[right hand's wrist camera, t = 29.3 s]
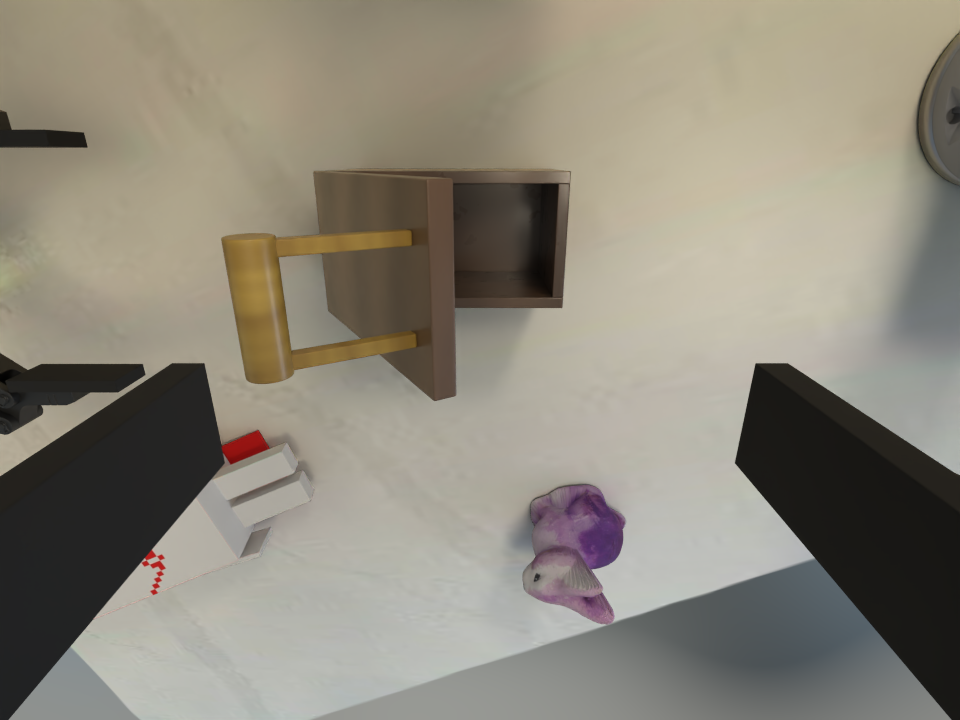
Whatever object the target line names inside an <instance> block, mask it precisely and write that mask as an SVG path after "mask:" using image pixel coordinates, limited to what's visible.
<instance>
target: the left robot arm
mask: <svg viewBox="0 0 960 720" xmlns="http://www.w3.org/2000/svg"><path fill="white" fill-rule="evenodd" d="M0 147H87V143H86V139H85V135H84V133H82V132H68V131H54V130H12V129H11V126H10V123H9V119H8V116H7V113H6V112H4V111H2V110H0ZM144 375H145V371H144V367H143V364H41V365H38V366H36V367H34V368H32V369H30V370H27V369H25V368H23V367H22V366H20V365H19V364H17V363H15V362H14V361H12V360H10V359H9V358H7V357H6V356H4V355H2V354H1V353H0V434H4V435H6V434H10V433H11V432H13V431H15V430H17V429H18V428H20V427H22V426H24V425H25V424H27V423H29V422H30V421H32V420H34V419H35V418H37V417H39V416H41V415H42V413H43V408H42V406H41V405H68V404H71V403H73V402H75V401H77V400H78V399H80V398H82V397H84V396H85V395H87V394H89V393H90V392H119V391H121V390H123V389H124V388H126V387H127V386H129V385H130V384H132V383H133V382H135V381H137V380H138V379H140V378H141V377H143V376H144Z"/></svg>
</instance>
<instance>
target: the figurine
mask: <svg viewBox="0 0 960 720" xmlns="http://www.w3.org/2000/svg"><path fill="white" fill-rule="evenodd" d="M531 520H532V522H533V523H534V526H535V527H534V529H533V532H532V545H533V549H534V552H535V555H536V557H535V559H534V560H533V561H532V562H531V563H530V564H529V565H528V566H527V567H526V569H525V570H524V572H523V585H524V590H525V591H526V592H527V593H528V594H530V595H531V596H533V597H535V598H537V599H539V600H541V601H543V602H546V603H550V604H557V605H562V606H565V607H568V608H570V609H572V610H574V611H576V612H578V613H579V614H581V615H582V616H584V617H586V618H588V619H590V620H592V621H594V622H597V623H600V624H607V625H608V624H610V623H612V622H613V620H614V617H615V616H614V612H613V609H612V608H611V606H610V604H609V603H608V601H607V599H606V598H605V596H604V594H603V593H602V590H603V587H602V585H601V584H600V582H599V581H598V579H597V578H596V576H595V575H594V573H593V572H592V570H591V569H597V568H601V567H604V566H606V565H609V564H610V563H612V562H613V561H614V560H615V559H616V558H617V557H618V555H619V553H620V551H621V548H622V544H623V530H622V529H623V528H624V527H625V525H626V519H625V517H624V516H623V515H622V514H621V513H619V512H617V511H615V510H613V509H611V508H609V507H608V506H607V505H606V502H605V499H604V497H603V494H602V492H601V491H600V490H599V489H598V488H596V487H594V486H591V485H576V486H566V487H562V488H557V489H556V490H554V491H552V492H551V493H549V494H548V495H545V496H543V497H540V498H537V499H535V500H533V501H532V504H531Z"/></svg>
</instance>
